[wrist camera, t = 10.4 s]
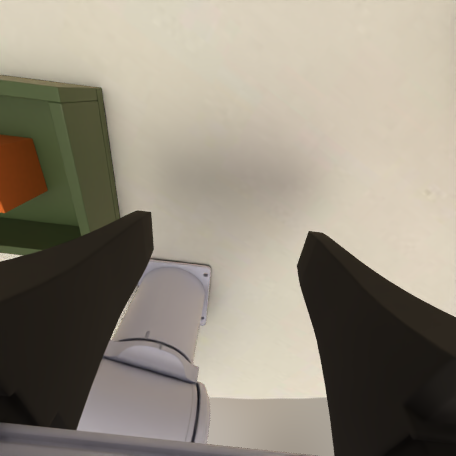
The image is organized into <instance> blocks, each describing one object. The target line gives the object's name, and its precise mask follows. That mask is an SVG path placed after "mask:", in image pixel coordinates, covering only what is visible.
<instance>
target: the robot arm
mask: <svg viewBox="0 0 456 456" xmlns="http://www.w3.org/2000/svg"><path fill="white" fill-rule="evenodd" d="M153 249H154V247H153V232H152V218H151V212H145V211H135V212H133V213H130V214H128V215H126V216H124V217H122V218H120V219H118V220H116V221H114V222H111V223H109V224H107V225H105V226H103V227H101V228H99V229H97V230H94V231H92V232H90V233H87V234H85V235H83V236H80V237H78V238H76V239H73V240H71V241H68V242H65V243H63V244H60V245H57V246H54V247H51V248H48V249H45V250H42V251H38V252H35V253H31V254H27V255H24V256H20V257H17V258H13V259H9V260H5V261H1V262H0V456H316V455H306V454H296V453H287V452H277V451H268V450H258V449H248V448H239V447H230V446H220V445H211V444H206V443H207V437H208V432H209V424H210V401H209V397H208V394H207V390H206V388H205V385H204V384H203V383H201V382H197V378H198V371H199V367H198V366H195V365H193V361H194V356H195V350H196V344H197V338H198V332H199V326H203V325H205V324H206V317H207V306H208V296H209V285H210V275H211V268H210V267H209V266H205V265H197V264H188V263H179V262H170V261H162V260H153V259H150V257H151V255H152V252H153ZM297 269H298V276H299V282H300V286H301V290H302V293H303V296H304V300H305V303H306V306H307V309H308V312H309V316H310V319H311V322H312V325H313V328H314V332H315V336H316V339H317V344H318V349H319V354H320V359H321V364H322V370H323V376H324V381H325V387H326V394H327V400H328V407H329V414H330V421H331V430H332V438H333V446H334V455H335V456H456V317H454V316H452V315H450V314H448V313H446V312H444V311H442V310H440V309H438V308H436V307H434V306H432V305H430V304H428V303H426V302H424V301H422V300H420V299H419V298H417V297H415V296H413V295H411V294H410V293H408V292H406V291H405V290H403V289H401V288H400V287H398V286H396V285H395V284H393V283H391V282H390V281H388V280H387V279H385V278H384V277H382V276H381V275H379V274H378V273H376V272H375V271H373V270H372V269H370V268H369V267H368V266H366V265H365V264H363V263H362V262H361V261H359V260H358V259H357V258H355V257H354V256H353V255H352V254H350V253H349V252H348V251H346V250H345V249H344V248H342V247H341V246H340V245H339V244H337V243H336V242H335V241H333V240H332V239H331V238H329V237H328V236H327V235H325V234H323V233H320V232H312V231H309V232H308V235H307V238H306V241H305V244H304V247H303V250H302V253H301V256H300V258H299V261H298V264H297ZM204 273H207V274H204ZM137 284H138V290H137V292H136V294H135V296H134V297H133V299H132V301H131V303H130V305H129V307H128V309H127V311H126V313H125V315H124V317H123V319H122V321H121V323H120V325H119V327H118V329H117V331H116V332H115V334H114V336H113V338H112V340H110V338H111V336H112V333H113V331H114V329H115V326H116V324H117V322H118V319H119V317H120V315H121V313H122V311H123V309H124V307H125V305H126V303H127V302H128V300H129V298H130V296H131V295H132V293H133V291H134V289H135V287H136V286H137Z"/></svg>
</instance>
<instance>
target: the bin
mask: <svg viewBox="0 0 456 456" xmlns="http://www.w3.org/2000/svg"><path fill="white" fill-rule="evenodd" d="M0 135H8V136H16V137H24V138H32V139H33V143H34V146H35V149H36V153H37V156H38V159H39V163H40V166H41V169H42V173H43V176H44V179H45V182H46V186H47V189H48V191H46V192H44V193H43V194H41V195H39V196H37V197H35V198H33V199H31V200H29V201H27V202H25V203H23V204H21V205H19V206H18V207H16V208H14V209H12V210H10V211H8V212H6V213H0V253H8V254H16V255H27V254H31V253H35V252H38V251H42V250H45V249H48V248H51V247H54V246H57V245H60V244H63V243H65V242H68V241H71V240H73V239H76V238H78V237H80V236H83V235H85V234H87V233H90V232H92V231H94V230H97V229H99V228H101V227H103V226H105V225H107V224H109V223H111V222H114V221H116V220H118V219H120V216H119V209H118V202H117V195H116V188H115V181H114V174H113V167H112V160H111V153H110V146H109V139H108V132H107V125H106V118H105V111H104V104H103V97H102V90H101V88H98V87H91V86H83V85H75V84H67V83H59V82H51V81H44V80H36V79H28V78H20V77H12V76H4V75H0Z"/></svg>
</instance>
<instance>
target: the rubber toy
mask: <svg viewBox="0 0 456 456" xmlns="http://www.w3.org/2000/svg"><path fill="white" fill-rule="evenodd" d="M46 191H48V189H47V186H46V182H45V179H44V176H43V173H42V169H41V166H40V163H39V159H38V156H37V153H36V149H35V146H34V143H33V139H32V138H24V137H16V136H8V135H0V213H6V212H8V211H10V210H12V209H14V208H16V207H18V206H19V205H21V204H23V203H25V202H27V201H29V200H31V199H33V198H35V197H37V196H39V195H41V194H43V193H44V192H46Z"/></svg>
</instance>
